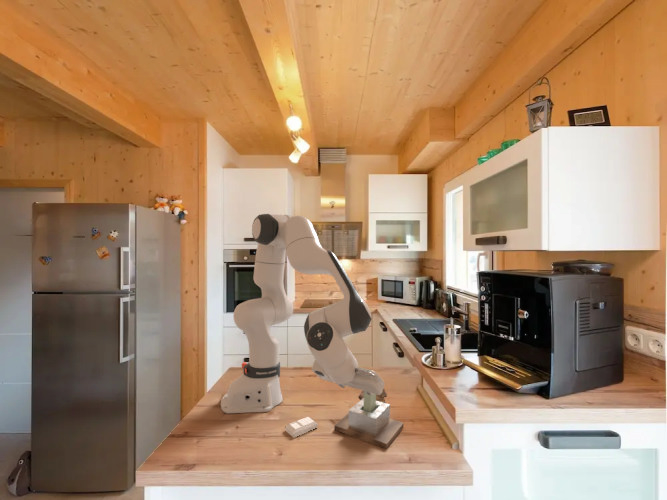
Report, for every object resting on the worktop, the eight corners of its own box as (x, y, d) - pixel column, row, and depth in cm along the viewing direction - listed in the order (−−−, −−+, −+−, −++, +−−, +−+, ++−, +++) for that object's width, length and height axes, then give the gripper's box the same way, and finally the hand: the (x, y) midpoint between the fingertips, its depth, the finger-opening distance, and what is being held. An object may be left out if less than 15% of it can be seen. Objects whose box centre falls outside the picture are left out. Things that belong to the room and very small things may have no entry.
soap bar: (317, 429, 109) (317, 421, 108) (293, 439, 103) (294, 430, 103) (308, 423, 112) (309, 415, 112) (285, 431, 107) (285, 423, 107)
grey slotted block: (389, 421, 111) (389, 404, 111) (375, 436, 102) (375, 418, 102) (364, 412, 116) (364, 397, 116) (348, 427, 107) (348, 410, 107)
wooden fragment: (387, 413, 120) (387, 410, 120) (357, 410, 121) (357, 407, 121) (386, 384, 145) (386, 381, 145) (360, 382, 147) (360, 379, 147)
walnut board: (403, 427, 110) (403, 422, 110) (386, 448, 98) (386, 443, 98) (355, 411, 120) (355, 407, 120) (334, 429, 108) (334, 425, 108)
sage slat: (375, 419, 110) (376, 383, 110) (370, 424, 107) (370, 387, 106) (368, 417, 111) (369, 381, 111) (363, 422, 108) (364, 385, 108)
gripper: (379, 363, 89) (392, 387, 97) (315, 349, 99) (332, 371, 108) (372, 386, 85) (386, 408, 93) (306, 368, 96) (324, 390, 104)
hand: (356, 388), depth 101 cm, fingers open, 8 cm apart
